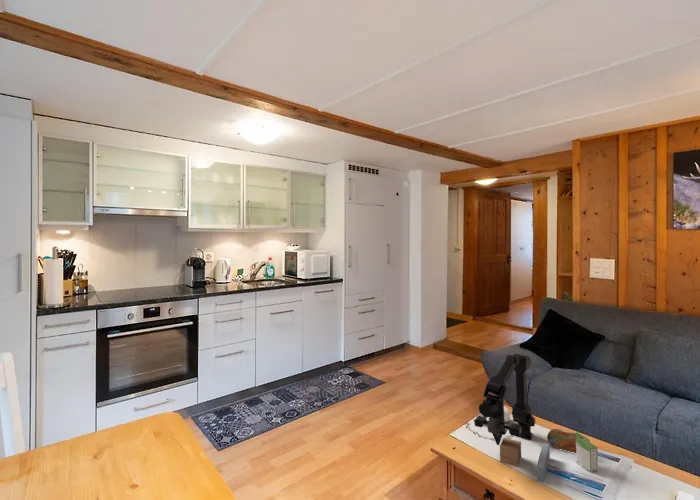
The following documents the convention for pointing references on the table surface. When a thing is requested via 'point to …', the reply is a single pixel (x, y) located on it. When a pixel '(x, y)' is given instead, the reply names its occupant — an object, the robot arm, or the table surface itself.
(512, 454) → the walnut block
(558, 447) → the tin
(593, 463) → the ink box
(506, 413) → the geometric ball
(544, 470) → the slate board
